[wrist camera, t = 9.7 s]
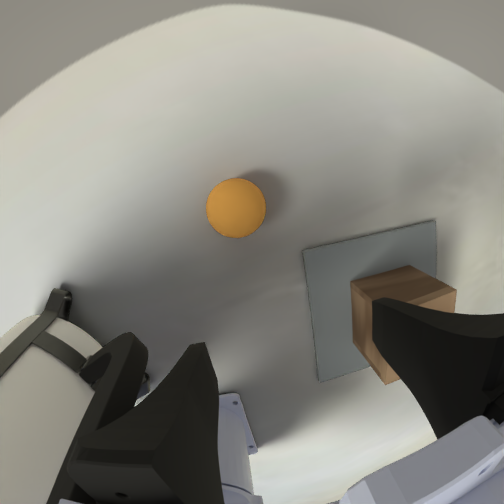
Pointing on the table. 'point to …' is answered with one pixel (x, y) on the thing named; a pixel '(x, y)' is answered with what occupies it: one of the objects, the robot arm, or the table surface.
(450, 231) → the table surface
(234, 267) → the table surface
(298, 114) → the table surface
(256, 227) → the orange ball
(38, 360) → the coffee press
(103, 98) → the table surface
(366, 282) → the wooden grain cube
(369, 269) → the slate mat
